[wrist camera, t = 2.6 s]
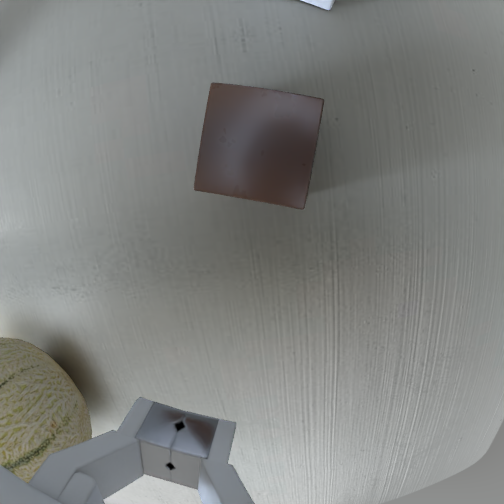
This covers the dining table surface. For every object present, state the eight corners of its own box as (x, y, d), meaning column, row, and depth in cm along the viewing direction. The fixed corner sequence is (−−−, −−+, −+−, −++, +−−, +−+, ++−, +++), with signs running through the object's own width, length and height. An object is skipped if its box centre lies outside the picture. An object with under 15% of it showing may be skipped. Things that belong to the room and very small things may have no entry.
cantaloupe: (138, 382, 24) (50, 521, 10) (97, 447, 28) (40, 540, 14) (13, 279, 23) (-108, 354, 9) (1, 368, 28) (-73, 438, 13)
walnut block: (230, 100, 17) (210, 81, 13) (315, 114, 17) (324, 98, 12) (217, 182, 19) (192, 190, 14) (300, 197, 19) (304, 210, 14)
